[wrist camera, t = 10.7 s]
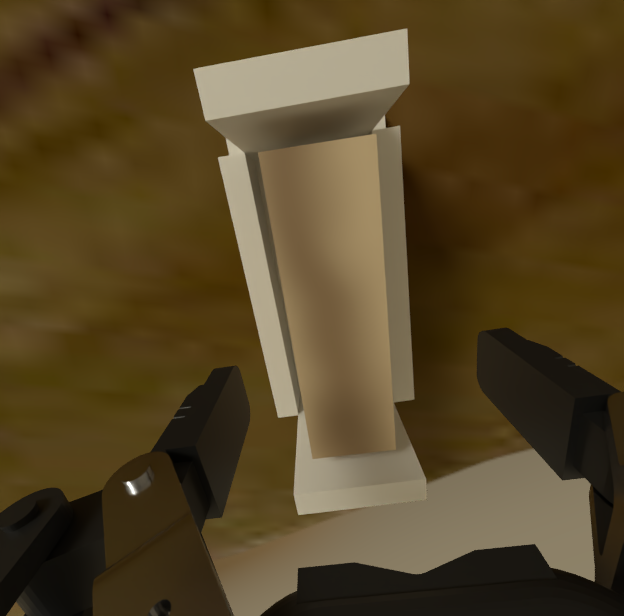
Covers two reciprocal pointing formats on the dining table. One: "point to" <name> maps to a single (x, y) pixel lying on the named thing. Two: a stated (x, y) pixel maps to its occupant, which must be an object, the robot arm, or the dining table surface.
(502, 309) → the dining table surface
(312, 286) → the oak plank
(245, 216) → the peg cradle
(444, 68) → the dining table surface
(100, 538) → the robot arm
